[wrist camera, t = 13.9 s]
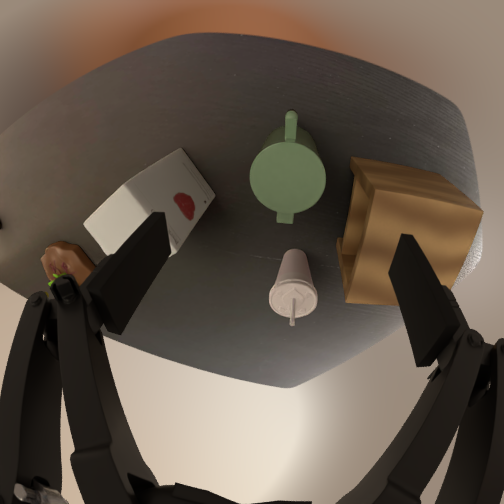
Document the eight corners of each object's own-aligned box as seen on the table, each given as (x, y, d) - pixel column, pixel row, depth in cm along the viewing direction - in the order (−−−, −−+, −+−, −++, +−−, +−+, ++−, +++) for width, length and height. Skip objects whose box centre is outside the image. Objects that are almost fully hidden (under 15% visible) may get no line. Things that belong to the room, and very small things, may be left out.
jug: (265, 105, 30) (250, 113, 20) (319, 109, 29) (332, 119, 20) (263, 181, 36) (249, 221, 26) (313, 185, 35) (319, 228, 25)
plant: (75, 230, 46) (41, 262, 37) (123, 301, 56) (100, 338, 47) (38, 251, 53) (12, 278, 43) (78, 308, 62) (58, 337, 53)
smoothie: (317, 242, 40) (322, 310, 29) (313, 275, 44) (314, 344, 32) (275, 240, 41) (264, 306, 29) (274, 273, 44) (264, 341, 33)
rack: (350, 156, 32) (375, 189, 22) (439, 173, 30) (484, 211, 20) (335, 246, 40) (345, 302, 30) (415, 254, 38) (441, 307, 28)
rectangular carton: (218, 195, 38) (180, 255, 26) (174, 222, 42) (129, 283, 30) (181, 144, 34) (122, 182, 22) (140, 177, 38) (80, 225, 26)
